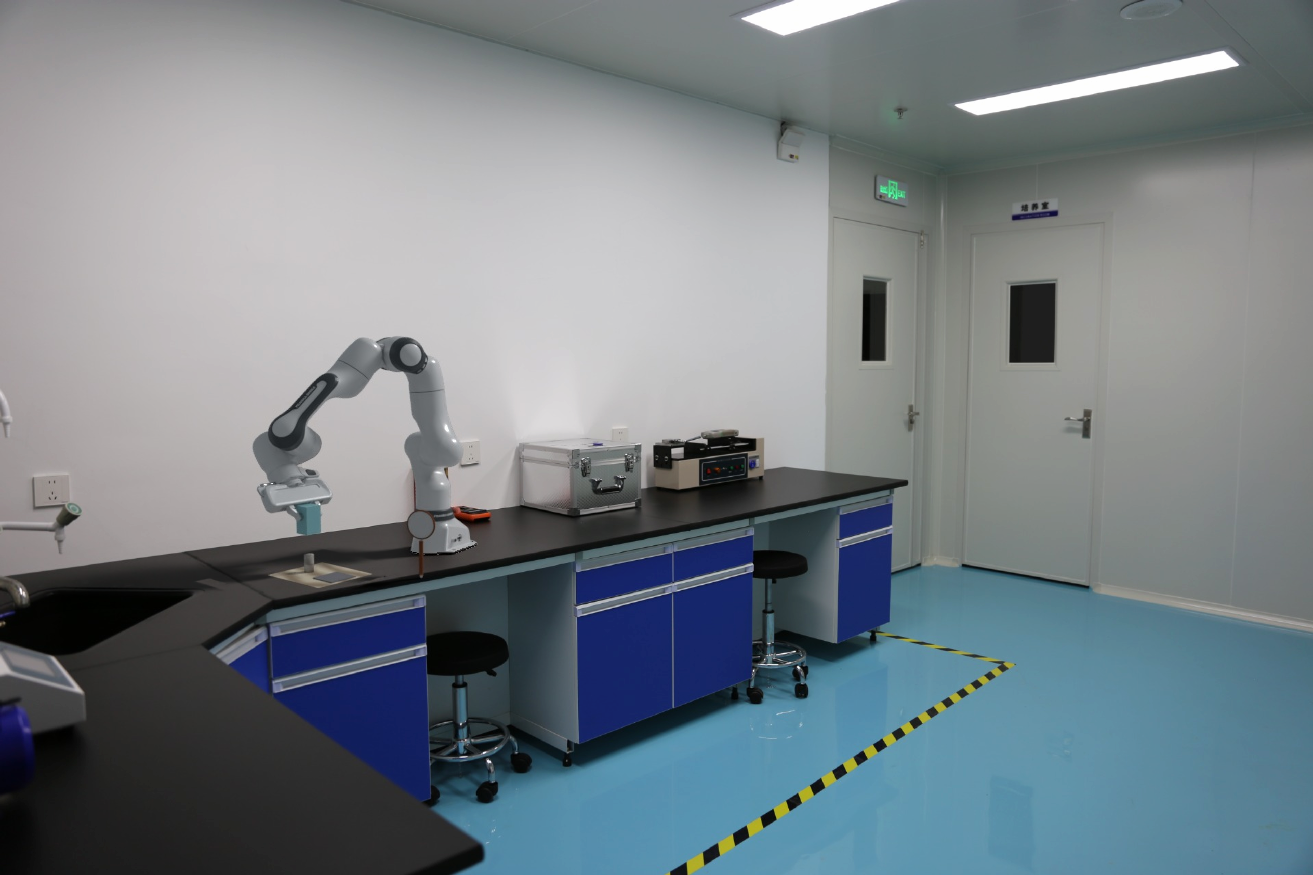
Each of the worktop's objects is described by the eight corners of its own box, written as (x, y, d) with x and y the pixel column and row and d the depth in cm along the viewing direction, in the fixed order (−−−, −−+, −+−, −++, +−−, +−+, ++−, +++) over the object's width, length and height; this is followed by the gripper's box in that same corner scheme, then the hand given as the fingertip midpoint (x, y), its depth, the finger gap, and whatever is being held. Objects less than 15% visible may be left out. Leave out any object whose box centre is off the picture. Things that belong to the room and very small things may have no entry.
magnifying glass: (405, 577, 243) (405, 509, 241) (408, 576, 245) (408, 508, 243) (433, 579, 242) (433, 511, 240) (436, 578, 243) (436, 510, 241)
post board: (322, 567, 252) (322, 545, 251) (372, 579, 241) (372, 556, 240) (267, 580, 237) (267, 557, 236) (318, 593, 225) (318, 569, 225)
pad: (337, 572, 241) (337, 571, 241) (355, 577, 237) (355, 575, 237) (312, 578, 234) (312, 577, 234) (331, 583, 230) (331, 582, 230)
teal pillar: (310, 530, 243) (310, 503, 242) (321, 532, 241) (320, 505, 240) (296, 533, 239) (296, 505, 238) (307, 535, 237) (306, 507, 236)
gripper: (259, 478, 233) (282, 517, 229) (322, 469, 250) (344, 506, 246) (249, 492, 236) (272, 531, 232) (312, 483, 253) (334, 519, 249)
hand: (310, 518), depth 239 cm, fingers closed on teal pillar, 5 cm apart
